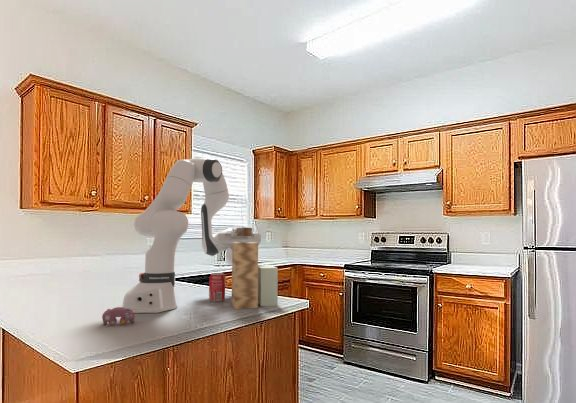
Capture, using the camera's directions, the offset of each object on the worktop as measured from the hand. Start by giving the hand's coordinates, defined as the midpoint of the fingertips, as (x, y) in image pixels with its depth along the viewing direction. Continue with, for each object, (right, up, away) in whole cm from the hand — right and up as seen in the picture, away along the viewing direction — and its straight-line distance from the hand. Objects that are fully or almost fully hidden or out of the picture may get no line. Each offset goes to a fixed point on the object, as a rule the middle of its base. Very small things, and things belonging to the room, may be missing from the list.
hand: (241, 230), depth 178 cm
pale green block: (+11, -31, -6) cm, 33 cm away
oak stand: (+3, -30, -14) cm, 33 cm away
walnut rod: (+2, -2, -8) cm, 8 cm away
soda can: (-10, -31, -3) cm, 33 cm away
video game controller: (-35, -28, -48) cm, 65 cm away
